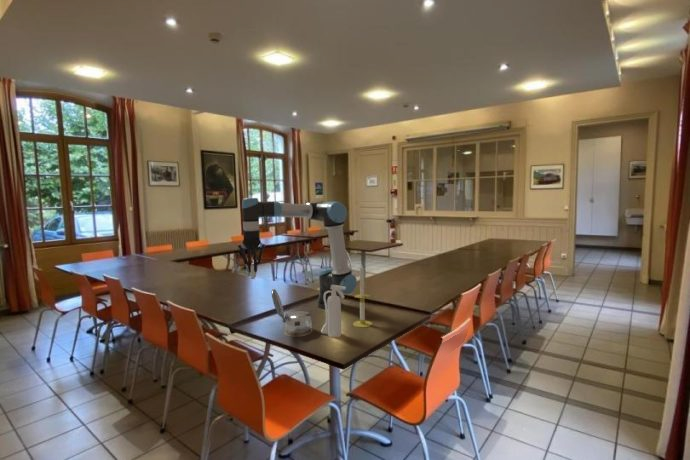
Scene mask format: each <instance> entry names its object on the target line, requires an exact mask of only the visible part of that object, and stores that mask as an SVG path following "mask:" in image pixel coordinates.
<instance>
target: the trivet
mask: <svg viewBox="0 0 690 460" xmlns="http://www.w3.org/2000/svg"><path fill="white" fill-rule="evenodd" d="M313 331H314V329H313V328H312V331H311V332H310V333H309V334H306V335H302V336H301V337H304V336H308V335H310V334H312V333H313ZM284 334H285V335H286V336H290V337H292V336H291V335H288V334H286V333H285V330H284Z"/></svg>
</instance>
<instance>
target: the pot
mask: <svg viewBox="0 0 690 460" xmlns="http://www.w3.org/2000/svg"><path fill="white" fill-rule="evenodd" d="M282 323H284V325H285V326H284V328H285V329H284V331H285V333H286V334H288V335H291V336H290V337H303V336H302V335H305V336H307V335H306V334H308V335H310V334H311V333H310V332H311V331H312V329H313V327H312V324H313V323H312V314H311V313H310V312H309V311H303V310H301V311H299V310H298V311H297V310H296V311H292V312H288V313H286V314H285V315H284V318H283V319H282ZM312 332H313V331H312ZM285 333H284V334H285ZM309 333H310V334H309ZM286 334H285V335H286ZM288 335H287V336H288Z"/></svg>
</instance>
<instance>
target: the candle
mask: <svg viewBox="0 0 690 460" xmlns="http://www.w3.org/2000/svg"><path fill="white" fill-rule="evenodd" d="M353 296H354V298H355V299H359V320H356V321H354V322H353V323H352V325H353V326H354V327H356V328H370V327H372V325H373V323H372V322H371V321H369V320H366V310H365V308H366V307H365V306H366V305H365V304H366V303H365V299H369V298H370V297H371V295H370V294H369V293H365V269H364V266H363V263H361V265H360V267H359V293H355V294H354V295H353Z"/></svg>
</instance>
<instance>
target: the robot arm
mask: <svg viewBox="0 0 690 460" xmlns="http://www.w3.org/2000/svg"><path fill="white" fill-rule="evenodd" d="M241 209H242V211H241V212H242V230H243V231H242V232H243V234H242V235H243V241H242V243H240V244H238V246H237V247H238V249H239V250H240V254H241V257H242V261H243V264H244V265H246V266H248V273H250V280H255V279H256V273H257V272H258V265H260V264H261V263H262V258H263V253H264V249H265V247H266V243H263V242H262V241H261V238H260V231H259V229H260V218H275V217H276V218H304V219H306V220H311V221H318V222H323V225H324V229H327V235H328V241H329V248H330V254H331V262H332V266H333V267H329V268H323V269H322V268H321V269H320V270H319V272H318V273H319V274H318V277H319V281H318V282H319V295H318V298H317V301H316V303H317V307H318V308H320V309H324V310H325V303H324V293H325V292H327V291H332V289H330V288H331V285H338V286H344V287H346V289H345V290H341V291H342V293H343V294H344V295H349V294H351V293H353V292H354V291H355V289H356V287H357V284H358V281H357V277H356V276H355V275H354V274H353V272H352V268H350V267H349V265H348V257H347V256H348V255H347V251H346V250H347V249H346V244H345V236H344V229H343V227H344V225H345V220H346V219H347V217H348V211H347V208H346V206H345V205H344V204H343V203H342V202H340V201H335V200H334V201H333V200H332V201H330V200H329V201H317V202H307V203H302V204H301V203H286V202H282V203H281V202H278V201H259V198H258V197H244V198H242V201H241ZM258 247H259V249H260V250H259V253H258V254H257V252H258V251H257V249H258ZM245 249H247V250H246V251H247V255H246V252H245ZM252 255H253V256H252ZM257 256H258V257H257ZM252 257H253V260H252ZM252 262H253V264H252ZM336 295H337V296H339V297H340V299H341V306H342V305H343V304H342V303H343V301H342V298H341V296H340V294H339V293H338V292H337V291H336ZM329 296H331V293H327V294H326V297H325V299H326V303H327V300H328V297H329Z"/></svg>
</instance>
